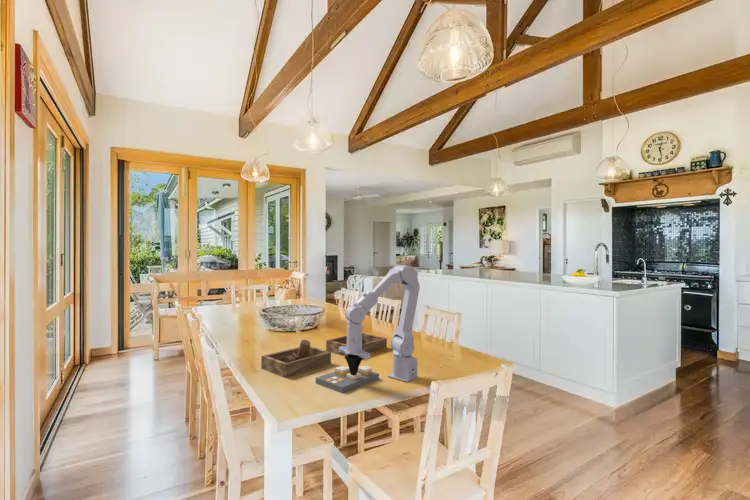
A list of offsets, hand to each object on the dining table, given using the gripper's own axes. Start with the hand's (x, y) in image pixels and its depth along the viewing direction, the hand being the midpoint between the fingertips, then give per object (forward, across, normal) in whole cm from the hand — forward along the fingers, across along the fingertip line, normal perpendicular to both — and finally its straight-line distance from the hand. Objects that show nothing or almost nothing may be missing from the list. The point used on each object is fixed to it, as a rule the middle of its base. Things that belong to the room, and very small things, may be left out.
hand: (353, 374), depth 149 cm
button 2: (+2, 0, 0) cm, 2 cm away
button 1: (+1, 0, +6) cm, 6 cm away
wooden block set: (+3, -29, -2) cm, 29 cm away
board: (+3, -3, 0) cm, 4 cm away
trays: (+3, -30, +16) cm, 34 cm away
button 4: (+1, -6, 0) cm, 6 cm away
